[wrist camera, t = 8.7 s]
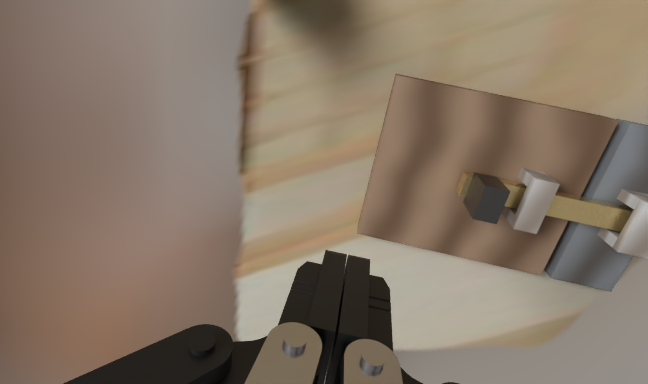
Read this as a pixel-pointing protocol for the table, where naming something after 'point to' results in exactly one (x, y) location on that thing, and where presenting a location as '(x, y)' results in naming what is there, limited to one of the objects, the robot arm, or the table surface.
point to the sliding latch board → (508, 164)
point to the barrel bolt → (494, 193)
